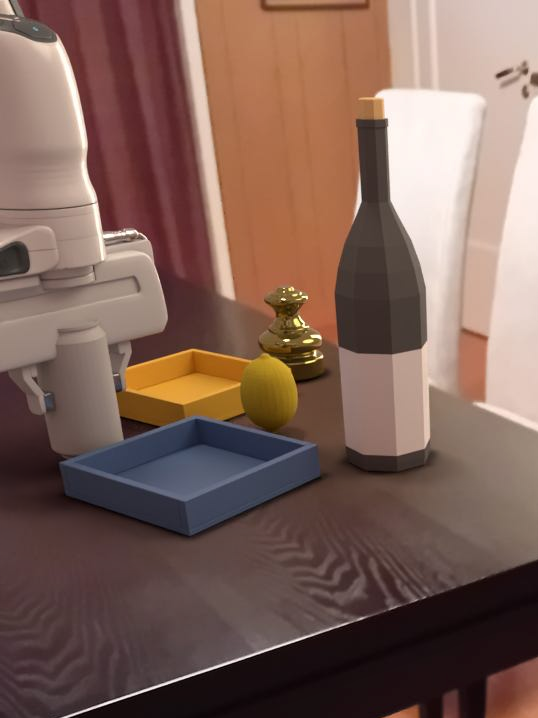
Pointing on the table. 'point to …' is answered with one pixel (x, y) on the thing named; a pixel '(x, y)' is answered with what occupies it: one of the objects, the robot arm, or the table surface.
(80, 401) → the beverage can
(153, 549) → the table surface
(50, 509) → the table surface
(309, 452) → the blue tray
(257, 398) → the lemon
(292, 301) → the gold chess piece
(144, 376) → the yellow tray
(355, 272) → the wine bottle
